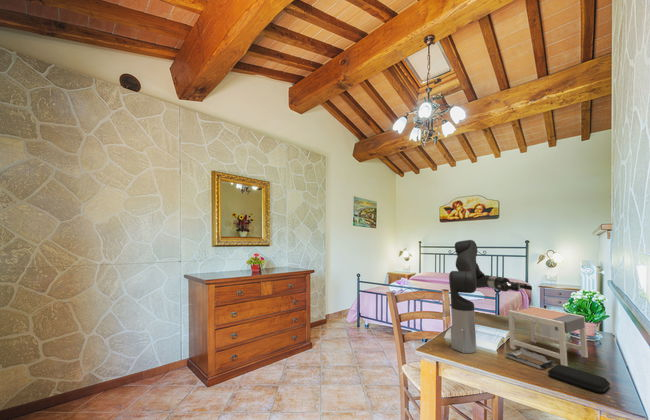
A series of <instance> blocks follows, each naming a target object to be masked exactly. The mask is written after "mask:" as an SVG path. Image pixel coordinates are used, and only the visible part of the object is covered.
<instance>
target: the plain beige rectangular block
mask: <svg viewBox="0 0 650 420" xmlns="http://www.w3.org/2000/svg"><path fill="white" fill-rule="evenodd" d="M538 325H539V335H543V336H547V337H550V338H554V339H558V340H559V334H558V331H556V330H555V326H551V325H547V324H542V323H539V324H538Z"/></svg>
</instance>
